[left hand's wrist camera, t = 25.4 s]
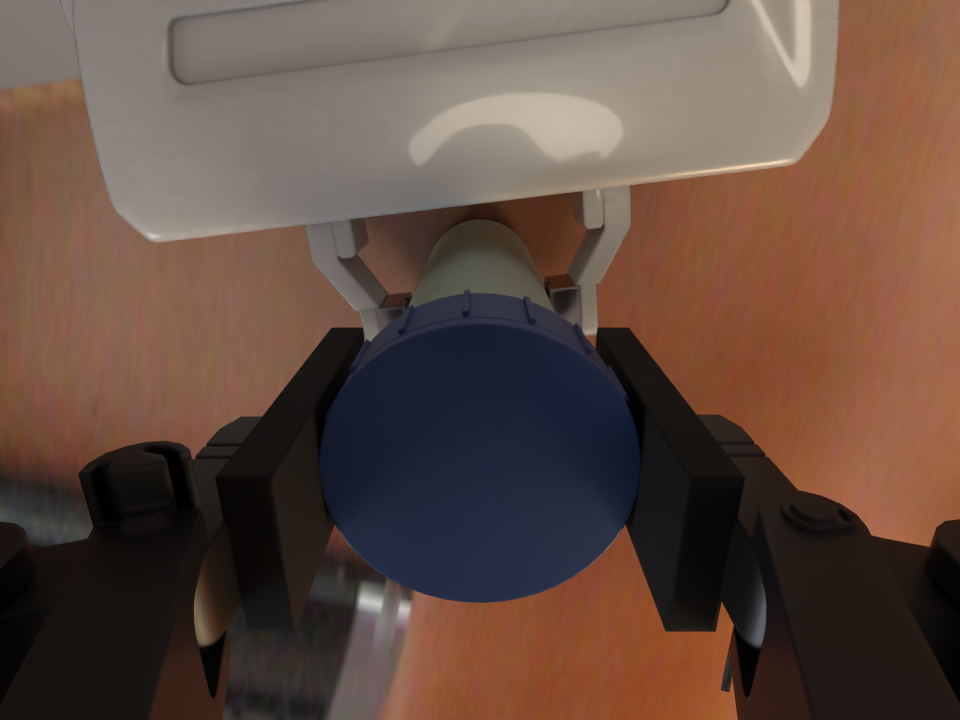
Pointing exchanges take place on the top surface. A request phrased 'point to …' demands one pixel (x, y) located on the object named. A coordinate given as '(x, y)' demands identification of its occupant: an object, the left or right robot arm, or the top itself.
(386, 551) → the lid
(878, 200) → the top surface
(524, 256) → the screw-top jar
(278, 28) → the right robot arm
